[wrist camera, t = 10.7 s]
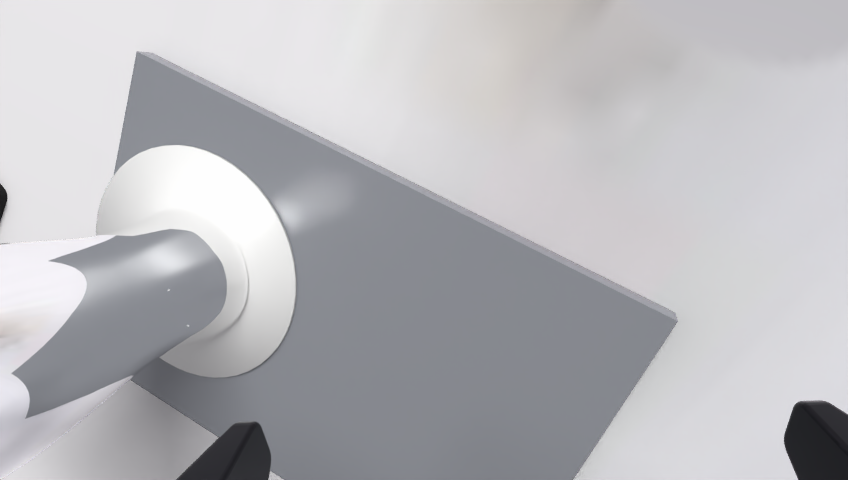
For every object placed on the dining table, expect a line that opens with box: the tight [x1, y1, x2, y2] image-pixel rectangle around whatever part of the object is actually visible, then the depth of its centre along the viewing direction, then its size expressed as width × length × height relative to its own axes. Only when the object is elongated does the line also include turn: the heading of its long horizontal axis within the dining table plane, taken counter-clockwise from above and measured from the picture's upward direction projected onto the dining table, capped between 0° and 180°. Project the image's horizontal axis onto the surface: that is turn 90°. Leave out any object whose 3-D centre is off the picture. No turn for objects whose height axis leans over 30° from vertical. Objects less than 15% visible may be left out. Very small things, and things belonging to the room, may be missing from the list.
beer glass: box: [0, 207, 248, 480], centre depth 18 cm, size 7×7×15 cm
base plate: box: [96, 51, 678, 480], centre depth 24 cm, size 24×16×1 cm, turn 67°
